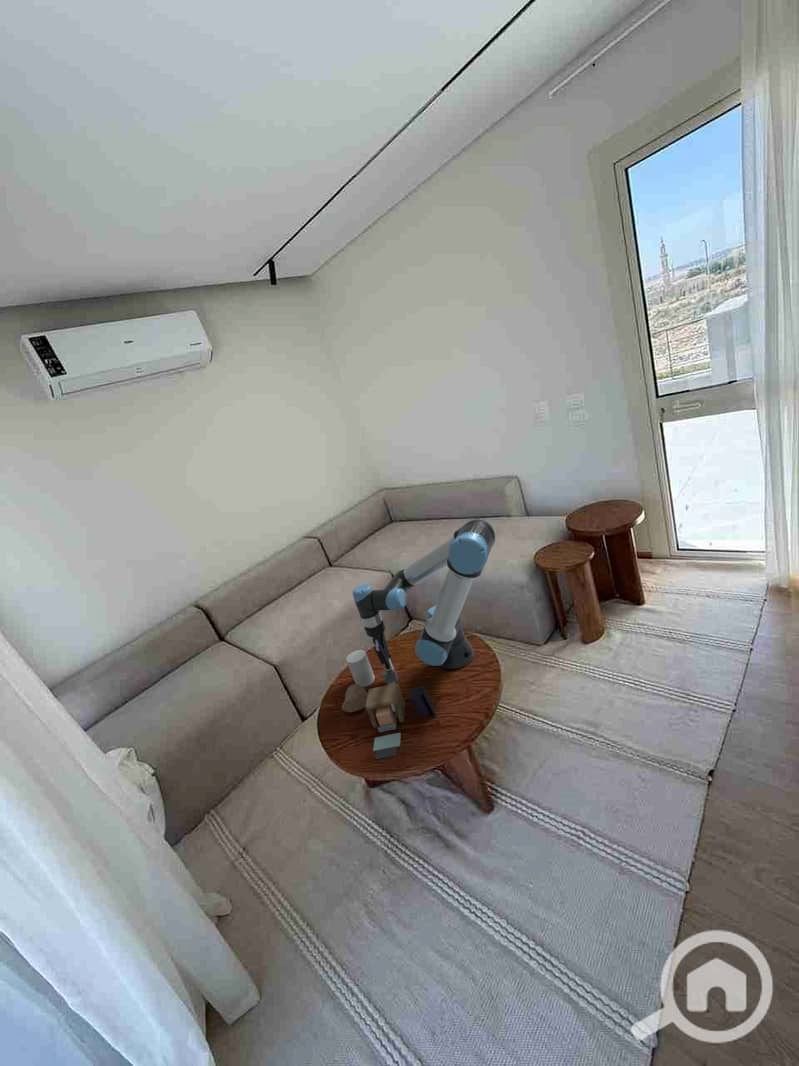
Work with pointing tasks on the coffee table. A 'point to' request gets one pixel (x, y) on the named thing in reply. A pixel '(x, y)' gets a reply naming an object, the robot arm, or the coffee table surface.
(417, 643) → the robot arm
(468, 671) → the coffee table surface
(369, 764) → the coffee table surface
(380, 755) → the pad
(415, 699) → the speaker
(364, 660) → the cup
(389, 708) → the block
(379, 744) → the pad
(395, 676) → the grey square dumbbell
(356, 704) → the stone
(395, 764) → the coffee table surface
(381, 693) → the tunnel
